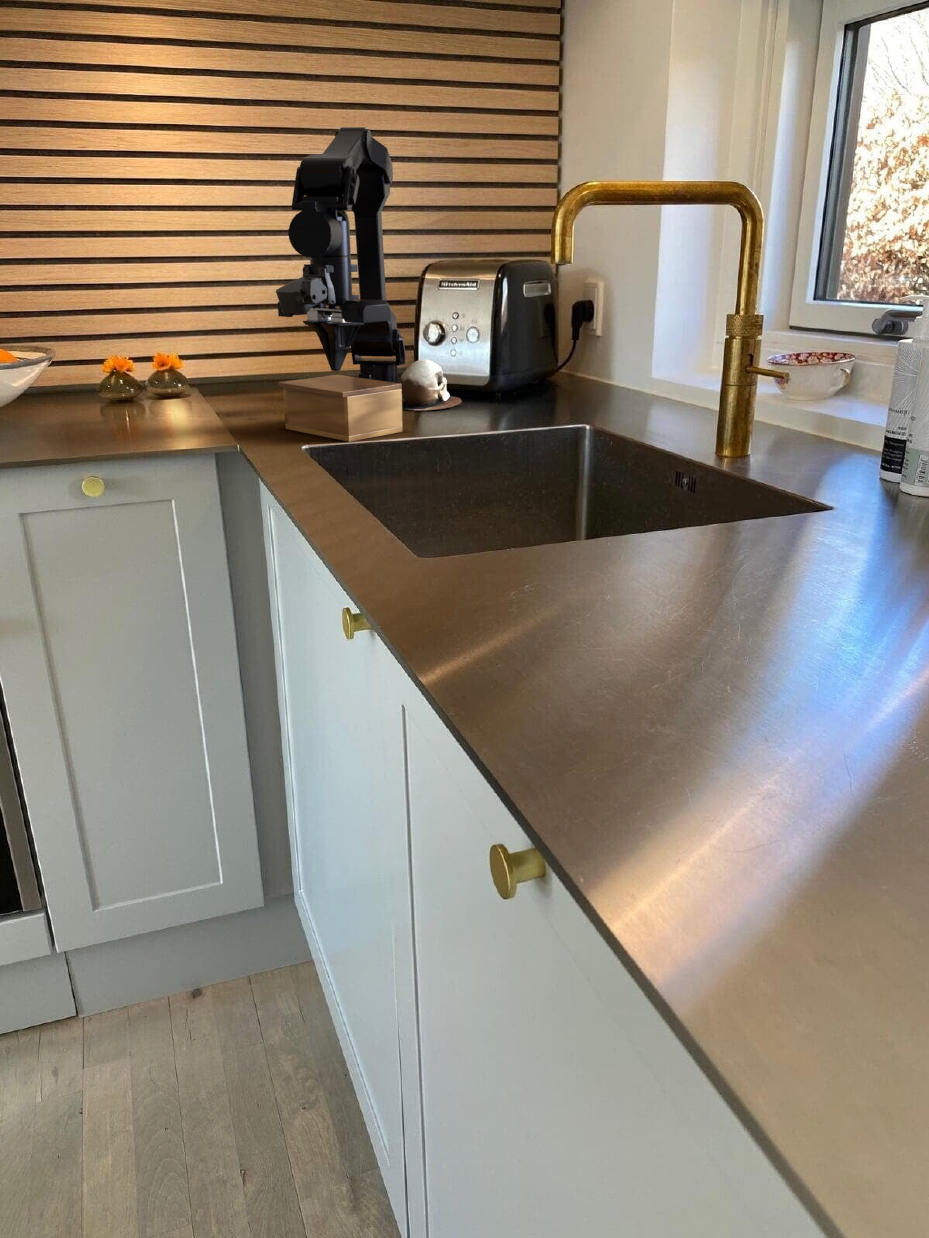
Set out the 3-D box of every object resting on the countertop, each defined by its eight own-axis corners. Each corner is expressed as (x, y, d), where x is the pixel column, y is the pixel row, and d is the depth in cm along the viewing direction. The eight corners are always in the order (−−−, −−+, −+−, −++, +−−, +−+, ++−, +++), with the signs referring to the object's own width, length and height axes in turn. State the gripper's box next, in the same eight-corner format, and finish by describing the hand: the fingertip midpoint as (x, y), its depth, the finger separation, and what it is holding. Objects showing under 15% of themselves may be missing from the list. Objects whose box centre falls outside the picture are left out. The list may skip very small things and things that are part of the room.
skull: (419, 390, 171) (449, 350, 164) (451, 434, 169) (482, 395, 162) (373, 396, 162) (402, 353, 156) (405, 442, 160) (436, 401, 154)
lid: (342, 397, 130) (342, 392, 130) (278, 387, 140) (277, 382, 139) (401, 388, 138) (401, 383, 138) (337, 379, 147) (336, 374, 147)
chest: (349, 442, 133) (347, 397, 131) (285, 428, 142) (282, 386, 140) (402, 431, 141) (401, 388, 138) (339, 419, 150) (337, 379, 147)
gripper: (243, 256, 132) (252, 370, 138) (328, 258, 120) (334, 382, 126) (305, 255, 140) (311, 363, 145) (392, 257, 128) (395, 374, 134)
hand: (335, 370), depth 137 cm, fingers closed
